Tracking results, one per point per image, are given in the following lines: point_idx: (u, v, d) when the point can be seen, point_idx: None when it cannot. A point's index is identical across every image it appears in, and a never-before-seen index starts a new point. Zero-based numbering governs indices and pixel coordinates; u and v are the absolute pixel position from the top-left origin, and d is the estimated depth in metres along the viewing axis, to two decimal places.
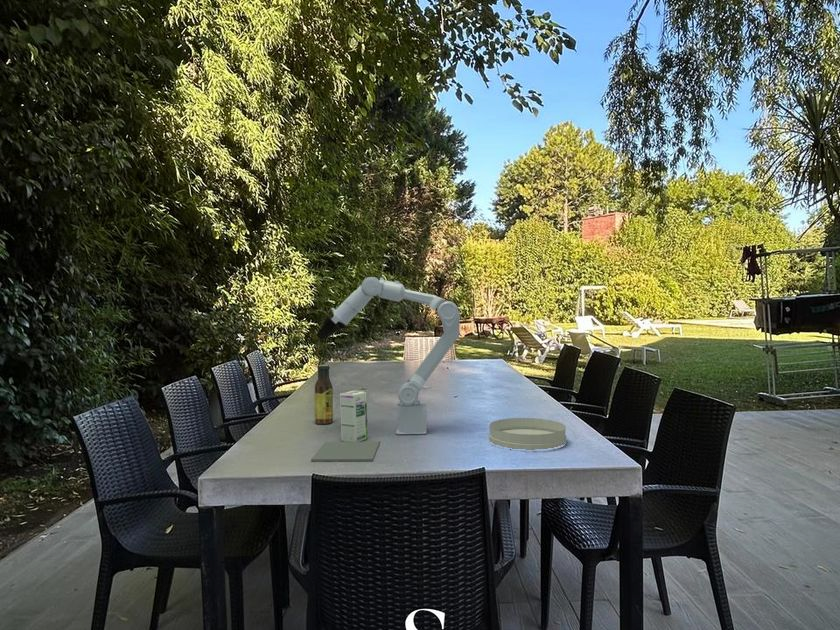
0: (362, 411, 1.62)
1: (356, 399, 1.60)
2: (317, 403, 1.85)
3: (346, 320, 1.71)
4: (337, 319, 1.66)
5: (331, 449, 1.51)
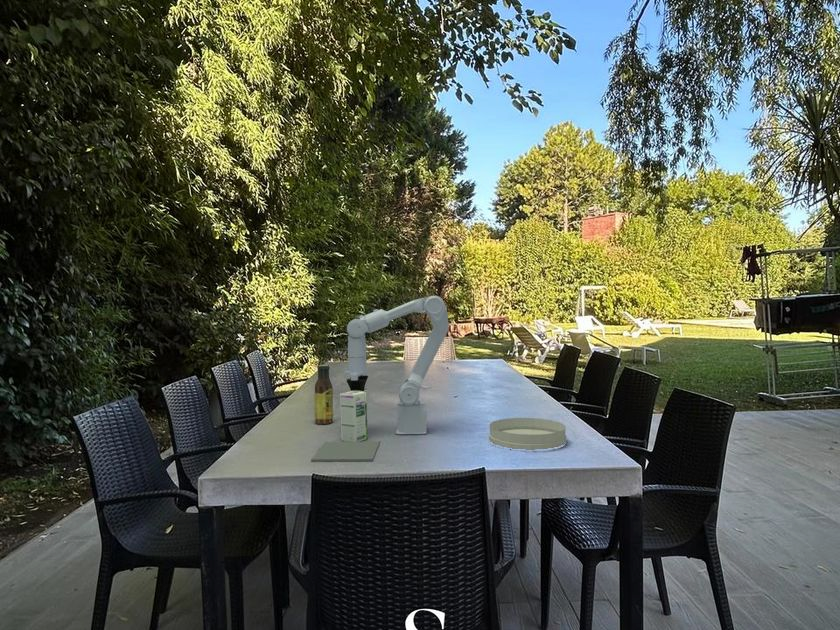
0: (362, 411, 1.62)
1: (356, 399, 1.60)
2: (317, 403, 1.85)
3: (363, 370, 1.70)
4: (355, 375, 1.65)
5: (331, 449, 1.51)
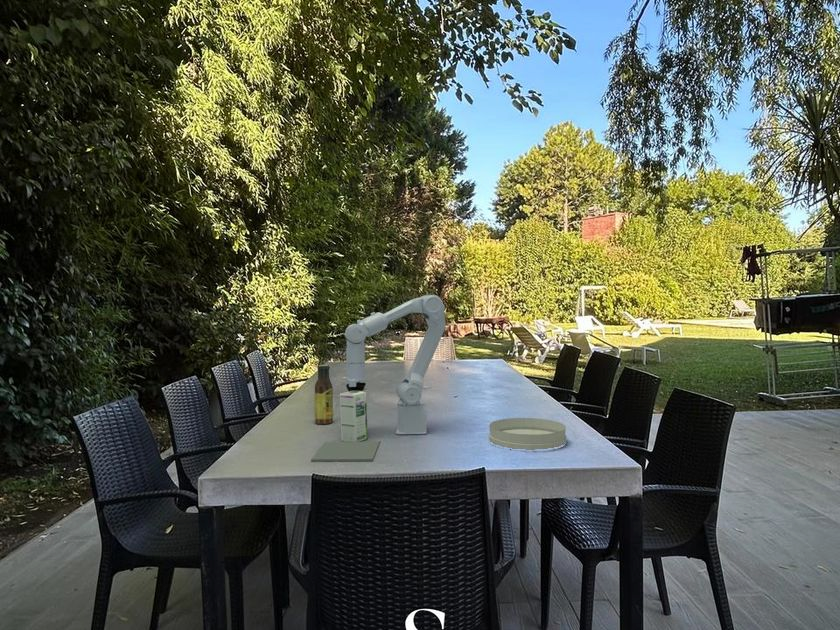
0: (361, 411, 1.62)
1: (355, 399, 1.60)
2: (317, 403, 1.85)
3: (361, 376, 1.67)
4: (353, 382, 1.62)
5: (331, 449, 1.51)
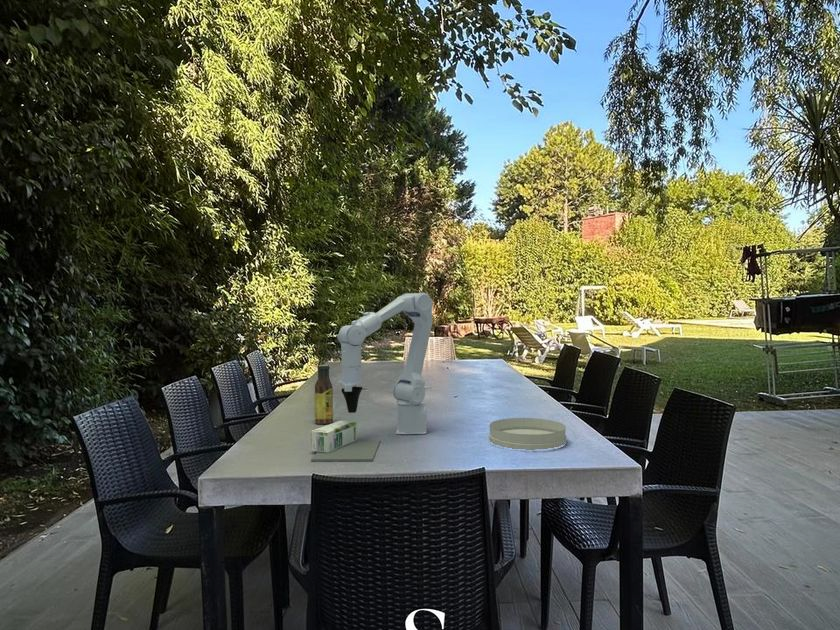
0: (339, 437, 1.52)
1: (331, 449, 1.49)
2: (317, 403, 1.85)
3: (358, 380, 1.59)
4: (349, 386, 1.53)
5: None
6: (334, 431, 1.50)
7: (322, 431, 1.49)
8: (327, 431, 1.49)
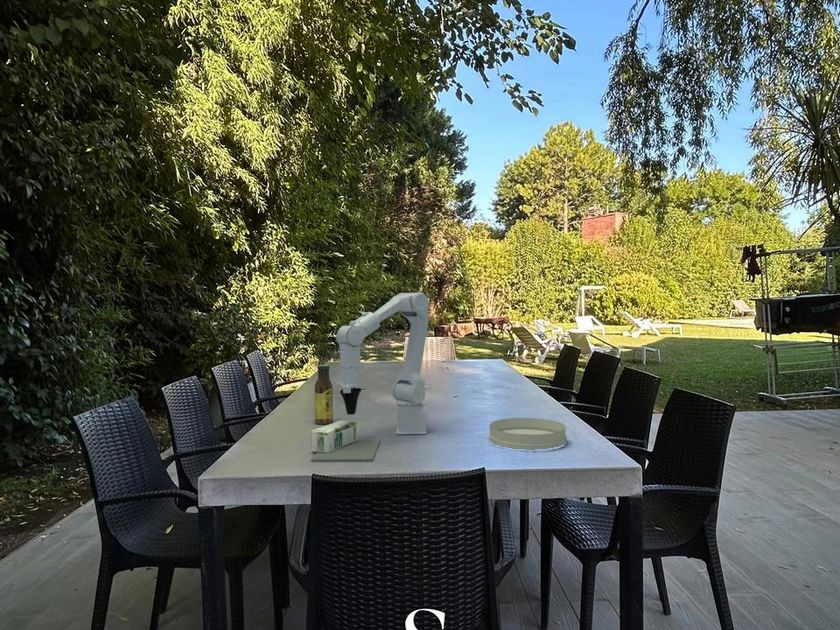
0: (339, 437, 1.52)
1: (331, 449, 1.49)
2: (317, 403, 1.85)
3: (357, 381, 1.56)
4: (348, 388, 1.51)
5: None
6: (334, 431, 1.50)
7: (322, 431, 1.49)
8: (327, 431, 1.49)
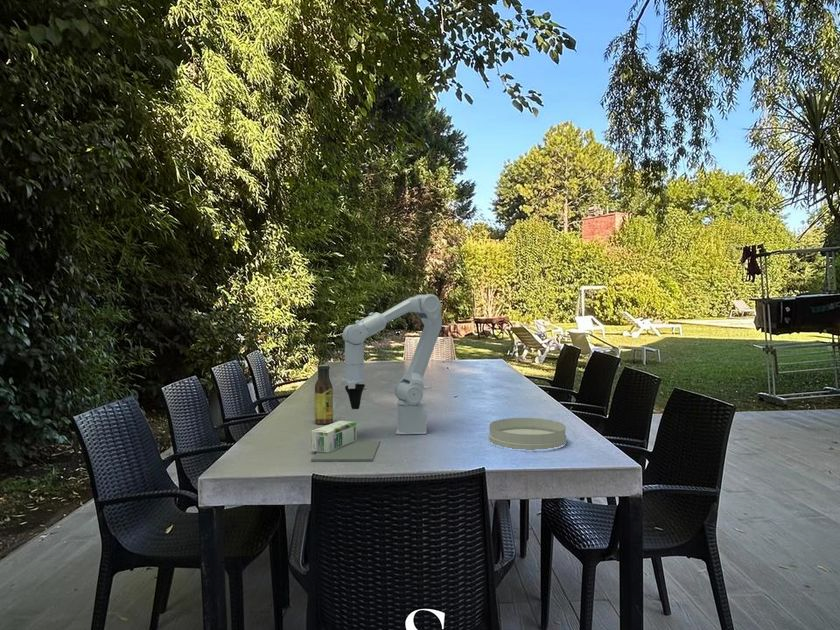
0: (339, 437, 1.52)
1: (331, 449, 1.49)
2: (317, 403, 1.85)
3: (361, 377, 1.64)
4: (353, 384, 1.59)
5: None
6: (334, 431, 1.50)
7: (322, 431, 1.49)
8: (327, 431, 1.49)
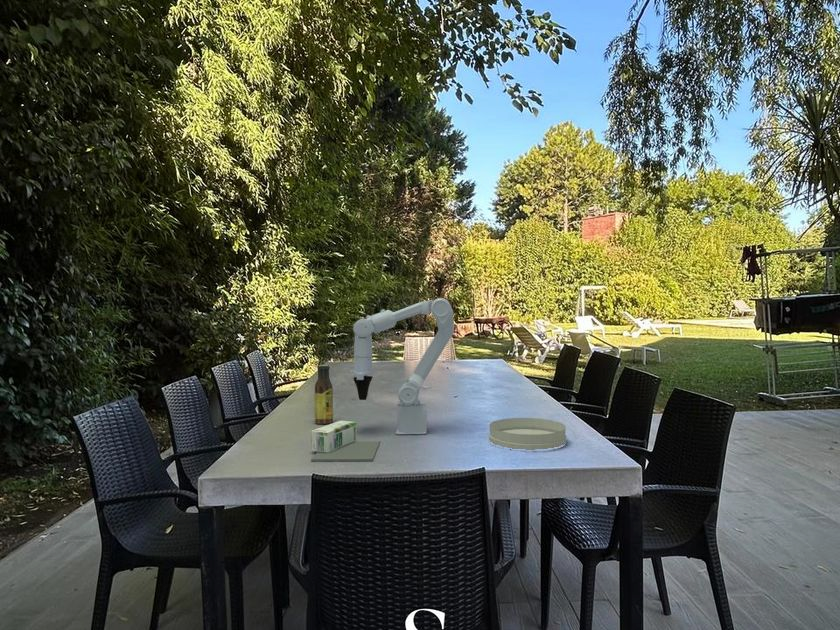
0: (339, 437, 1.52)
1: (331, 449, 1.49)
2: (317, 403, 1.85)
3: (369, 370, 1.71)
4: (361, 375, 1.66)
5: None
6: (334, 431, 1.50)
7: (322, 431, 1.49)
8: (327, 431, 1.49)
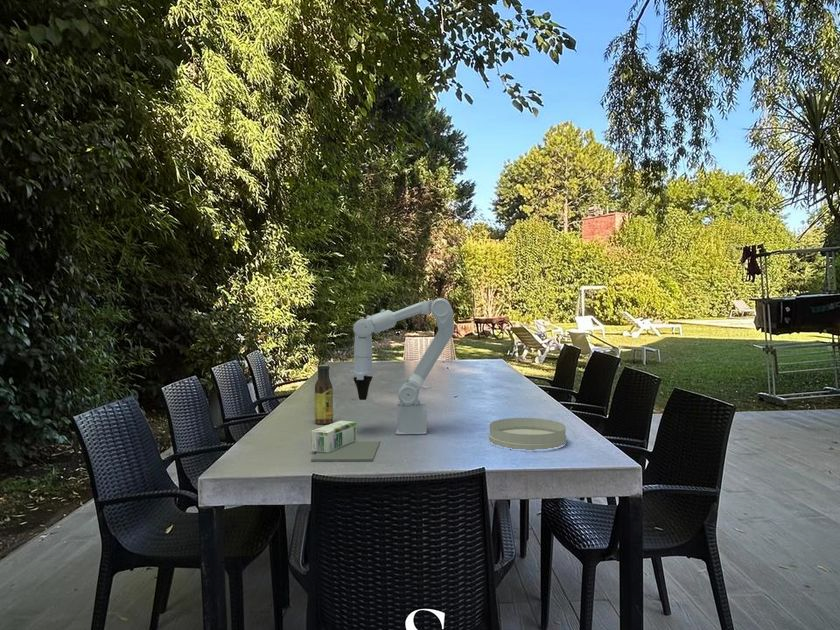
0: (339, 437, 1.52)
1: (331, 449, 1.49)
2: (317, 403, 1.85)
3: (369, 370, 1.71)
4: (361, 375, 1.66)
5: None
6: (334, 431, 1.50)
7: (322, 431, 1.49)
8: (327, 431, 1.49)
